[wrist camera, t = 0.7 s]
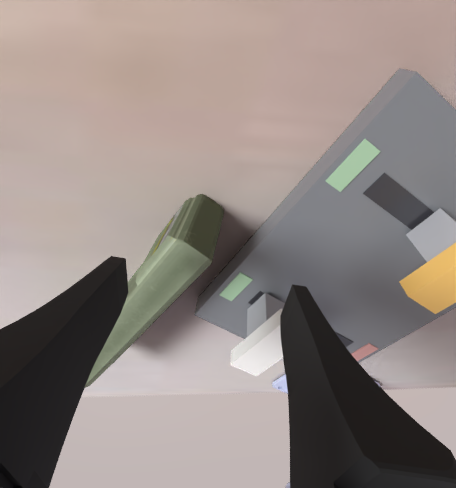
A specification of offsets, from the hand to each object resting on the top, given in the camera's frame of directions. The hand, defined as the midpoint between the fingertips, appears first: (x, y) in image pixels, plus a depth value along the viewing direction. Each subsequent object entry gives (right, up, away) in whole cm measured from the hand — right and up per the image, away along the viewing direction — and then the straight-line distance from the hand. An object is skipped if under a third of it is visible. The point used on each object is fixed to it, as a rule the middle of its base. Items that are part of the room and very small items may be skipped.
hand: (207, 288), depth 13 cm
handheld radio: (-8, -2, +15) cm, 17 cm away
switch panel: (+11, 0, +11) cm, 15 cm away
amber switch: (+14, +3, +6) cm, 15 cm away
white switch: (+4, -3, +11) cm, 12 cm away
